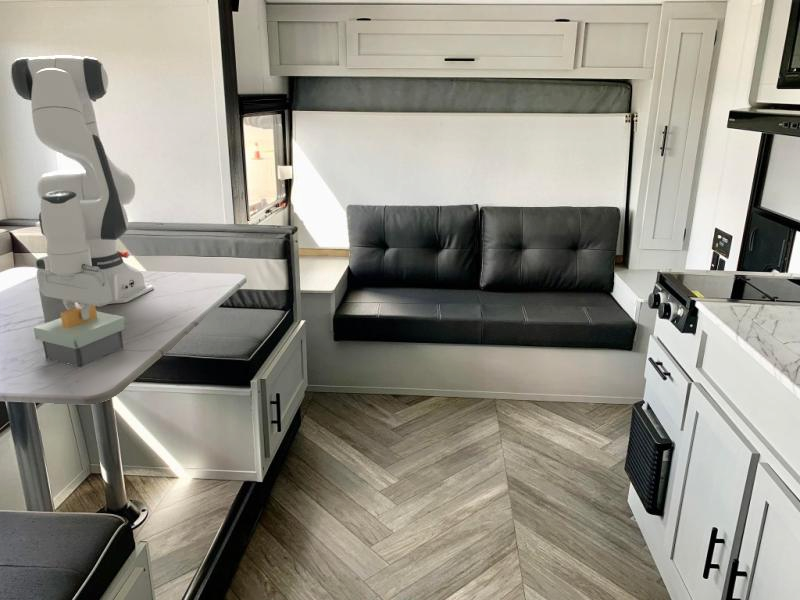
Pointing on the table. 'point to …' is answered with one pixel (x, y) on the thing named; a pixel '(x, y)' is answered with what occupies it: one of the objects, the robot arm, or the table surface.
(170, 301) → the table surface
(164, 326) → the table surface
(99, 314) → the lid
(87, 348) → the parts tub
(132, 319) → the table surface
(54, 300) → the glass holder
